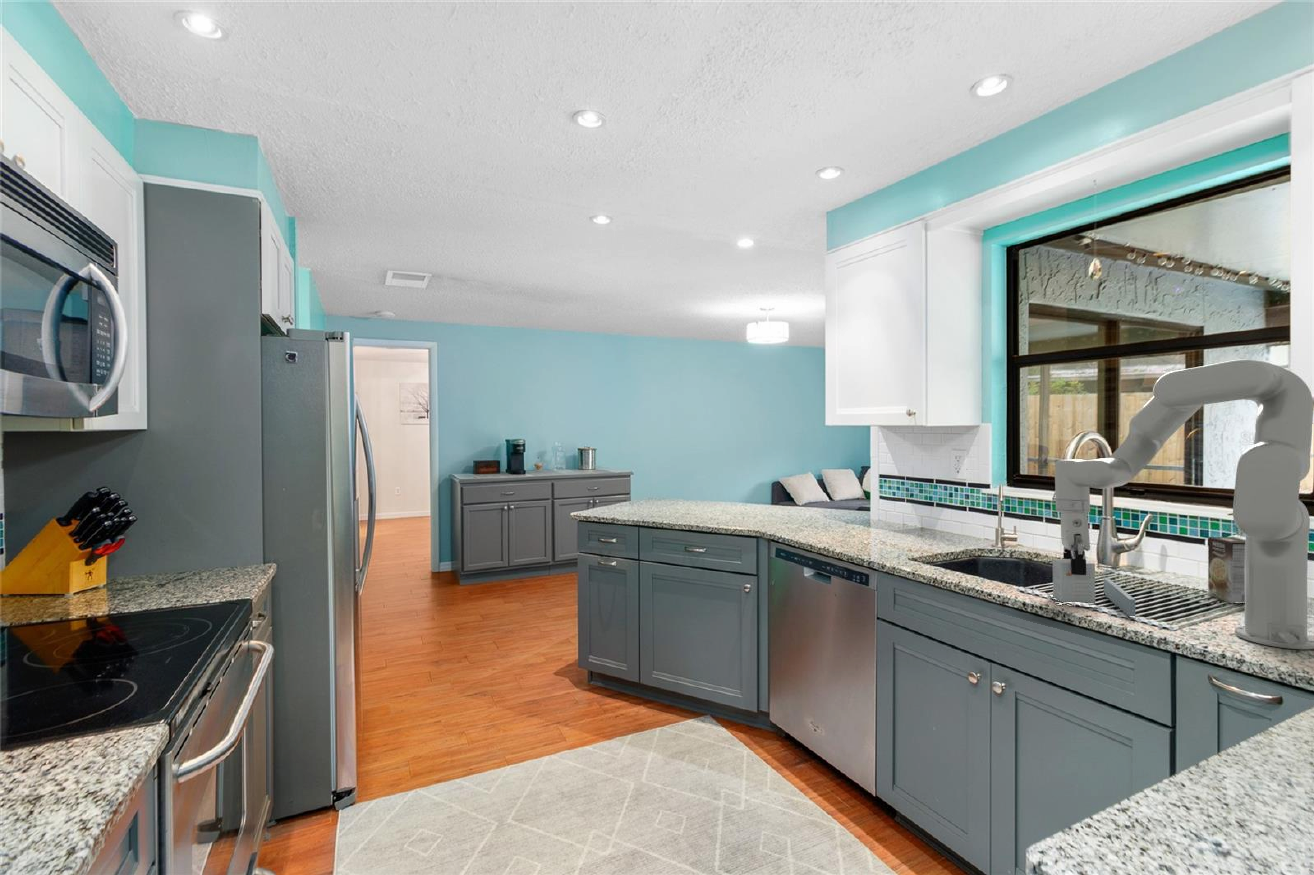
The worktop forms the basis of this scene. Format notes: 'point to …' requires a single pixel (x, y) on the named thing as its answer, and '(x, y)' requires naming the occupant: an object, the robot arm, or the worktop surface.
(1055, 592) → the small box
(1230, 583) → the coffee box
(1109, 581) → the low wall
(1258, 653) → the worktop surface
